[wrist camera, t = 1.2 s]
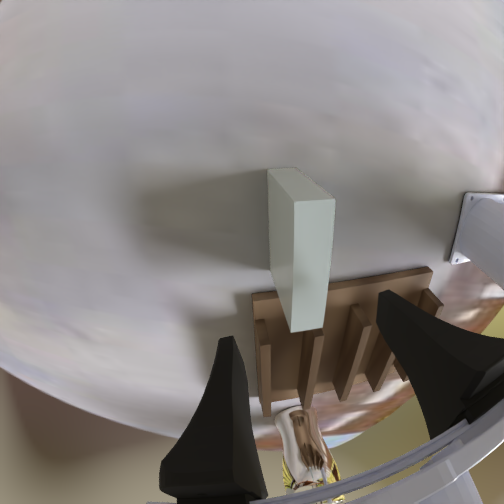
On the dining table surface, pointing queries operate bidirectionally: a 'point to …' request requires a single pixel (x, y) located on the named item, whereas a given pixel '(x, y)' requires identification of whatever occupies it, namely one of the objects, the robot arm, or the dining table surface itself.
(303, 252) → the tile
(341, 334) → the rack
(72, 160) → the dining table surface
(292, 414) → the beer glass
